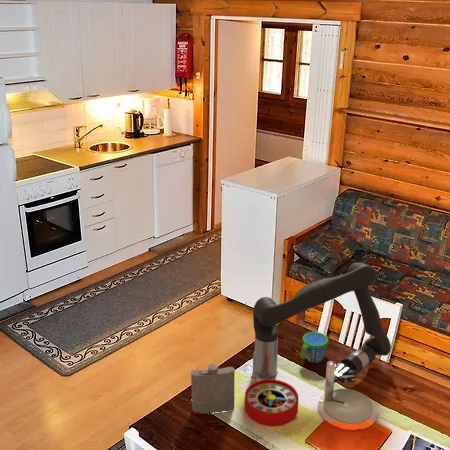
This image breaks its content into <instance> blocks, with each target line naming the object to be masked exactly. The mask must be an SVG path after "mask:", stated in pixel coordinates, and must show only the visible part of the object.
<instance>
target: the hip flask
mask: <svg viewBox="0 0 450 450" xmlns="http://www.w3.org/2000/svg"><path fill="white" fill-rule="evenodd" d="M235 371H236V370H235V368H234V367H233V366H227V367H221V368H219V365H218V364H216V363H210V364H209V365H208V366H207V369H202V370H200V369H198V370H196V369H195V370H192V371H191V373H190V377H191V379H190V381H191V382H190V383H191V386H190V387H191V411H192V410H193V411H194V412H200V413H209V412H210V413H213V412H214V413H215V412H222V411H229V410H230V411H229V412H231V410H232V411H234V410H235ZM233 409H234V410H233Z"/></svg>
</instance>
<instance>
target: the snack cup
mask: <svg viewBox="0 0 450 450" xmlns="http://www.w3.org/2000/svg"><path fill="white" fill-rule="evenodd" d="M302 343H303V344H302V347H301V351H300V354H299V357H300V358H301V359H302V360H305V359H306V361H307V362H308V363H312V364H319V363H321V362H322V361H324V360H323V359H324V358H325V353H326V349H327V347H328V346H329V344H330V340H329V336H327V335H326V334H324V333H321V332H318V331H309V332H307V333H305V334H304V335H303V336H302Z"/></svg>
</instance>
